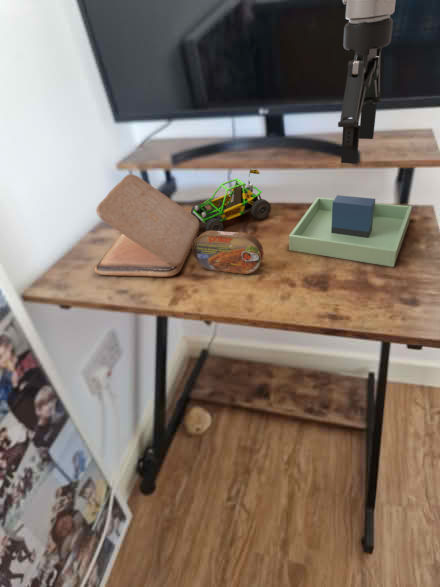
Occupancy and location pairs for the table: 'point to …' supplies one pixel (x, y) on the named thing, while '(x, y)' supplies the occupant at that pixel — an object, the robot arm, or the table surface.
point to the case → (145, 231)
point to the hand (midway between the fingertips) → (357, 150)
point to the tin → (228, 251)
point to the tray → (374, 249)
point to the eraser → (352, 216)
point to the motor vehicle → (232, 205)
